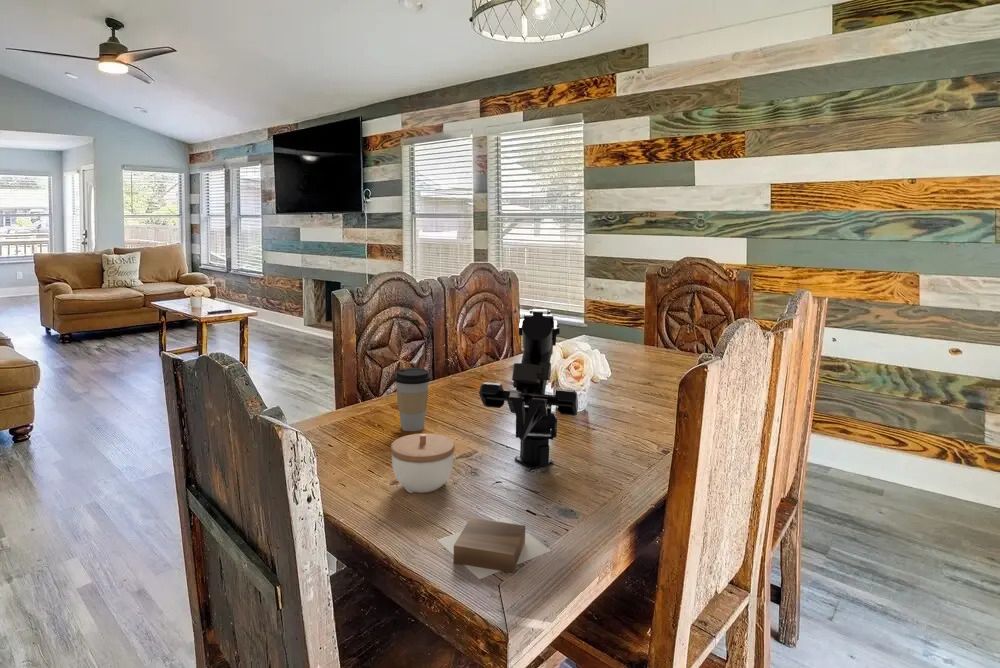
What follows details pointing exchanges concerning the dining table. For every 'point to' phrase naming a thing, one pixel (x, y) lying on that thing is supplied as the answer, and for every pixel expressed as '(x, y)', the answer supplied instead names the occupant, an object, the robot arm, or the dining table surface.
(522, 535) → the walnut slab
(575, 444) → the dining table surface
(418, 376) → the coffee cup
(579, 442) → the dining table surface
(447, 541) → the felt mat
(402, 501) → the dining table surface
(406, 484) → the lidded bowl
